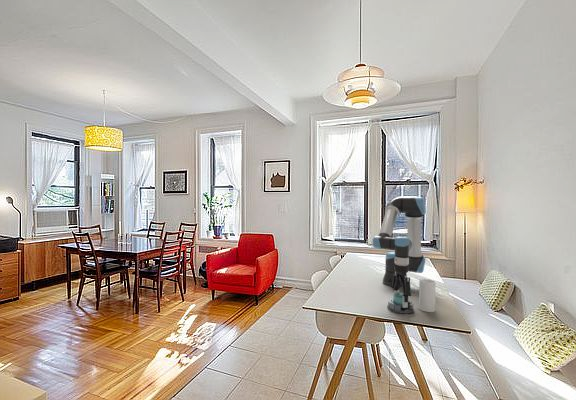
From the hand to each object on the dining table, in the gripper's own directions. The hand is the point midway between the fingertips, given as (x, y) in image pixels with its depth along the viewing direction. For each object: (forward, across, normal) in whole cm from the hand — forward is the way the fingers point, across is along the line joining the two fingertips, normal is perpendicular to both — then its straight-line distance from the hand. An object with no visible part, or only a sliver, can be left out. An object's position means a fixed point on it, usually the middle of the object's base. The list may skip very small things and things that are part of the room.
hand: (400, 304), depth 162 cm
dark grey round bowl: (+3, 0, 0) cm, 3 cm away
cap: (0, 0, 0) cm, 0 cm away
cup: (+3, +2, +15) cm, 15 cm away
